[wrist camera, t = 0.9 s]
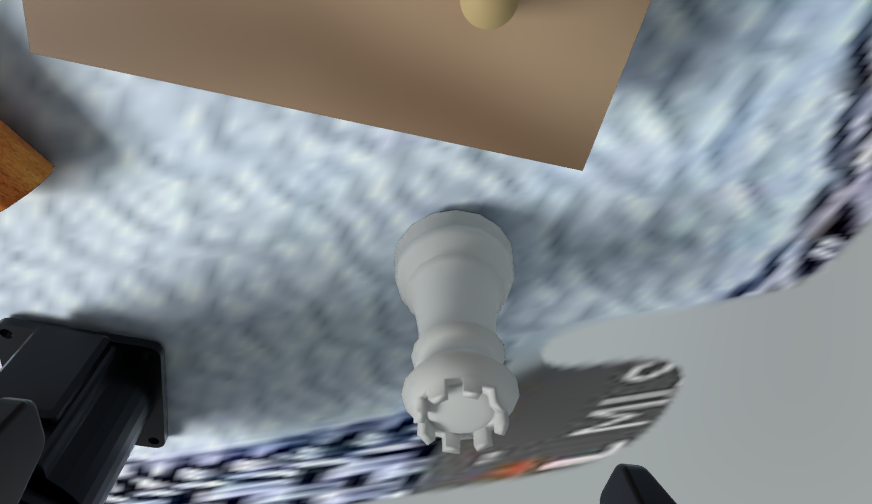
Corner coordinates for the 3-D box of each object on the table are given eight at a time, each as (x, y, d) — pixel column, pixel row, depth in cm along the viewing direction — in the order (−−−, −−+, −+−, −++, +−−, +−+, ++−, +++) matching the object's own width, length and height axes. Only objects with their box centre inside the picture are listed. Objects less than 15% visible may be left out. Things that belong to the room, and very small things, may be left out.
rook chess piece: (377, 280, 22) (353, 452, 16) (421, 185, 20) (415, 339, 13) (480, 315, 23) (499, 490, 17) (533, 228, 21) (579, 391, 14)
